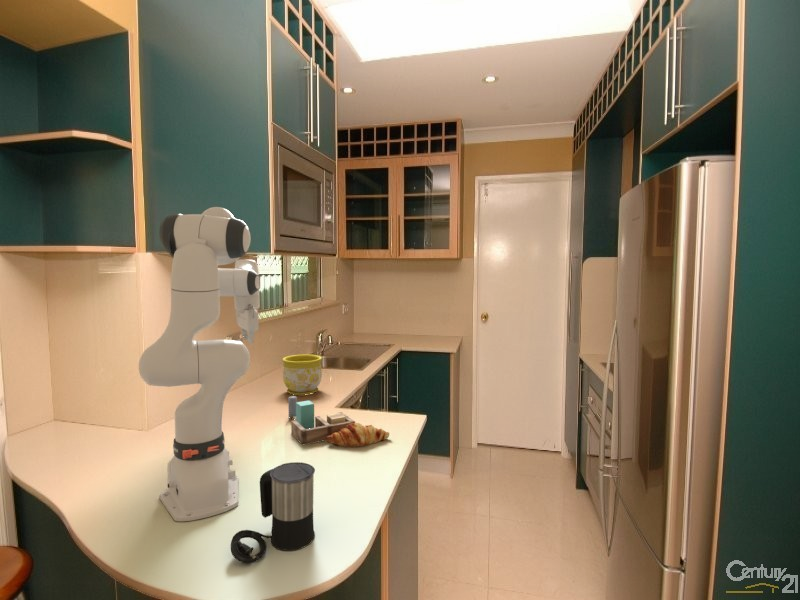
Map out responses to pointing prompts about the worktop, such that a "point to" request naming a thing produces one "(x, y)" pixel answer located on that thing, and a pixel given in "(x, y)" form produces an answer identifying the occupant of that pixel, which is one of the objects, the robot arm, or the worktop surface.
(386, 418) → the worktop surface
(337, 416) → the oak block
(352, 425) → the croissant
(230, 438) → the worktop surface
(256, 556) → the milk frother
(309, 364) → the flowerpot
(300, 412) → the block
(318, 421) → the tray
